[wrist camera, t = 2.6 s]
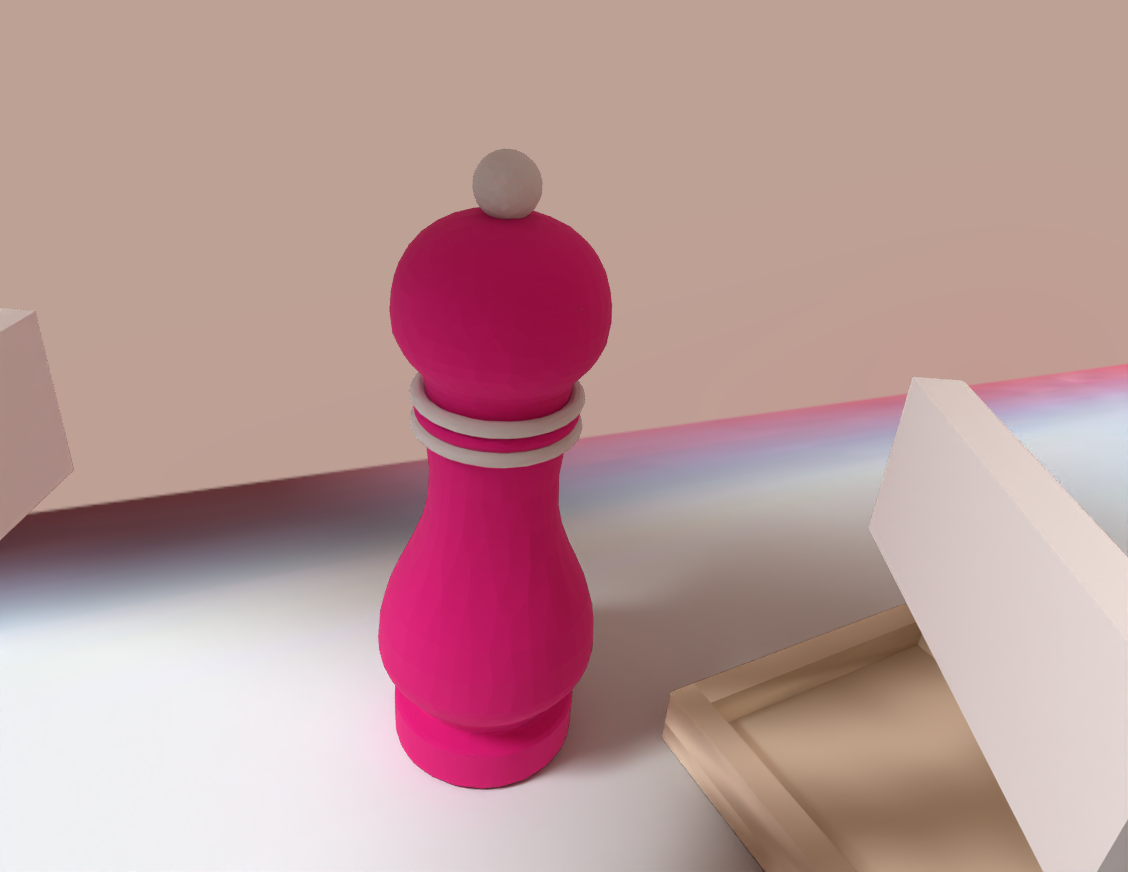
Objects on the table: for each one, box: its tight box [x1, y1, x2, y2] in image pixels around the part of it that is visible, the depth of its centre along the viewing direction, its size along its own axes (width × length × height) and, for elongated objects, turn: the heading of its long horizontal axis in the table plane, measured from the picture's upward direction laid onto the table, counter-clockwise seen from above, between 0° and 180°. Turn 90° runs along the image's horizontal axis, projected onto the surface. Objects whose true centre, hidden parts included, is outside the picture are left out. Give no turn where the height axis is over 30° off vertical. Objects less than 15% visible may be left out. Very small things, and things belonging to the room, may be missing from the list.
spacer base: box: [662, 603, 1043, 872], centre depth 28 cm, size 13×13×2 cm
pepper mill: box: [378, 149, 612, 789], centre depth 26 cm, size 7×7×20 cm
